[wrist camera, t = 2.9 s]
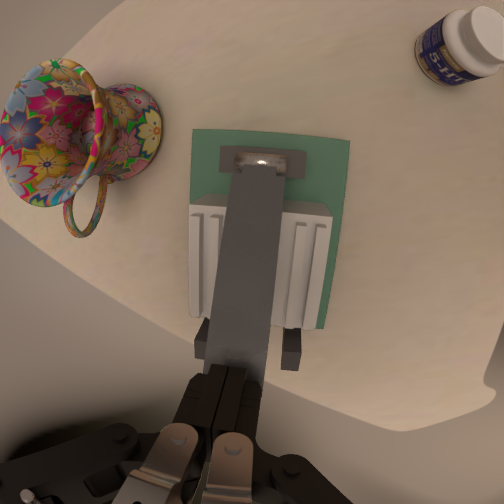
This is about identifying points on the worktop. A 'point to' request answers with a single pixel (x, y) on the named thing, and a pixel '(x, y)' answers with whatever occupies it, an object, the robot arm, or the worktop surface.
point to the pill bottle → (462, 46)
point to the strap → (247, 266)
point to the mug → (74, 136)
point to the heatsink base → (308, 188)
